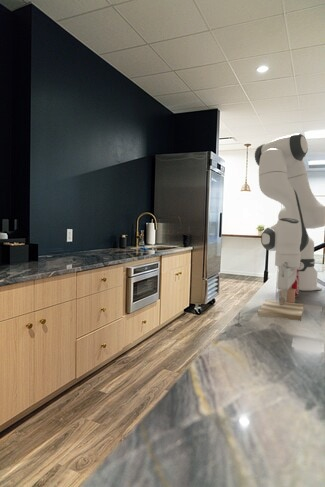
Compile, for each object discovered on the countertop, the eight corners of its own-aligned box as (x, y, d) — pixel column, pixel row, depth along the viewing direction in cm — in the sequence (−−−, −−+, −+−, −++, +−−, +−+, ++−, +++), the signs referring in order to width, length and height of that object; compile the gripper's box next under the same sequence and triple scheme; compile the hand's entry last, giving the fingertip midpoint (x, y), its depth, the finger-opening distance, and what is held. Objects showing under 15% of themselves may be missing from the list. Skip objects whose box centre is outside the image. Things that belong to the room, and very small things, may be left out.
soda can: (295, 294, 138) (296, 266, 138) (300, 298, 131) (302, 269, 131) (278, 294, 139) (279, 266, 138) (282, 298, 132) (284, 268, 131)
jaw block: (280, 300, 127) (281, 287, 127) (294, 301, 125) (295, 289, 125) (279, 304, 121) (279, 291, 121) (293, 305, 119) (294, 292, 119)
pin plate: (266, 303, 121) (266, 290, 121) (303, 308, 116) (304, 294, 115) (257, 315, 106) (258, 299, 106) (300, 320, 100) (301, 304, 100)
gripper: (292, 264, 112) (291, 304, 113) (299, 259, 130) (298, 294, 131) (273, 263, 115) (272, 302, 116) (283, 258, 133) (281, 292, 134)
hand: (286, 297), depth 123 cm, fingers closed on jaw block, 7 cm apart
